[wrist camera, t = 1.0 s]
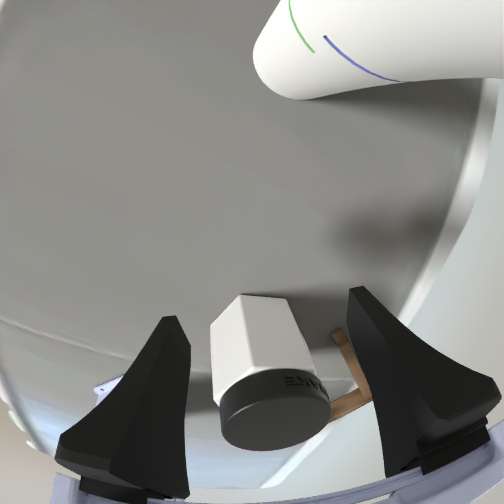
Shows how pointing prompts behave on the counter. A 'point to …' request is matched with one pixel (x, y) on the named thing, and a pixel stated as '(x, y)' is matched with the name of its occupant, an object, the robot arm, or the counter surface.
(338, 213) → the counter surface
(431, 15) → the cylindrical container
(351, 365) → the bay
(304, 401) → the jar
